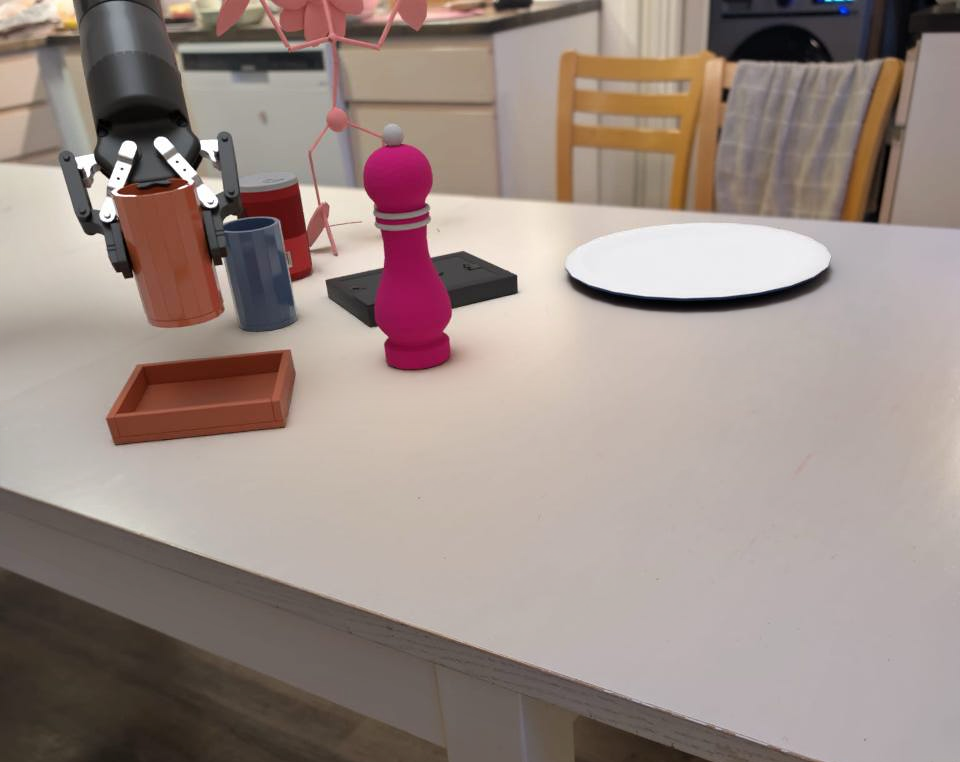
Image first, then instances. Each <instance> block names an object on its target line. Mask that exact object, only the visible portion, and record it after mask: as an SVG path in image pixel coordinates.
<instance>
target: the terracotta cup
mask: <svg viewBox="0 0 960 762" xmlns="http://www.w3.org/2000/svg"><path fill="white" fill-rule="evenodd" d="M167 180H168V181H170V182H172V184H171V185H170V186H169V187H167V186H166V188H164V187H154V188H151V189H148V190H140V189H139V188H138V189H137V188H136V187H137V186H138V184H139V183H133V184H128V185H126V186H124V187H119V188H116V189H114V190H113V191H112V192H111V193H110V195H111V198H112V202H113V205H114V209H115V212H116V215H117V219H118V222H119V226H120V229H121V232H122V236H123V239H124V243H125V246H126V250H127V253H128V256H129V260H130V263H131V267H132V271H133V276H134V280H135V284H136V287H137V290H138V295H139V298H140V302H141V306H142V308H143V312H144V314H145V317H146V320H147V323H148V324H149V325H150V326H152V327H156V328H162V329H178V328H186V327H191V326H198V325H201V324H204V323H207V322H210V321H213V320H215V319H216V318H219V317H220V316H221V315H222V314H224V312H225V305H224V298H223V294H222V289H221V285H220V281H219V277H218V272H217V268H216V266H214V262H213V259H212V255H211V251H210V246H209V242H208V237H207V232H206V228H205V223H204V219H203V213H202V209H201V205H200V200H199V196H198V192H197V188H196V184H195V181H194V180H192V179H189V178H187V179H181V178H171V179H167Z"/></svg>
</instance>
